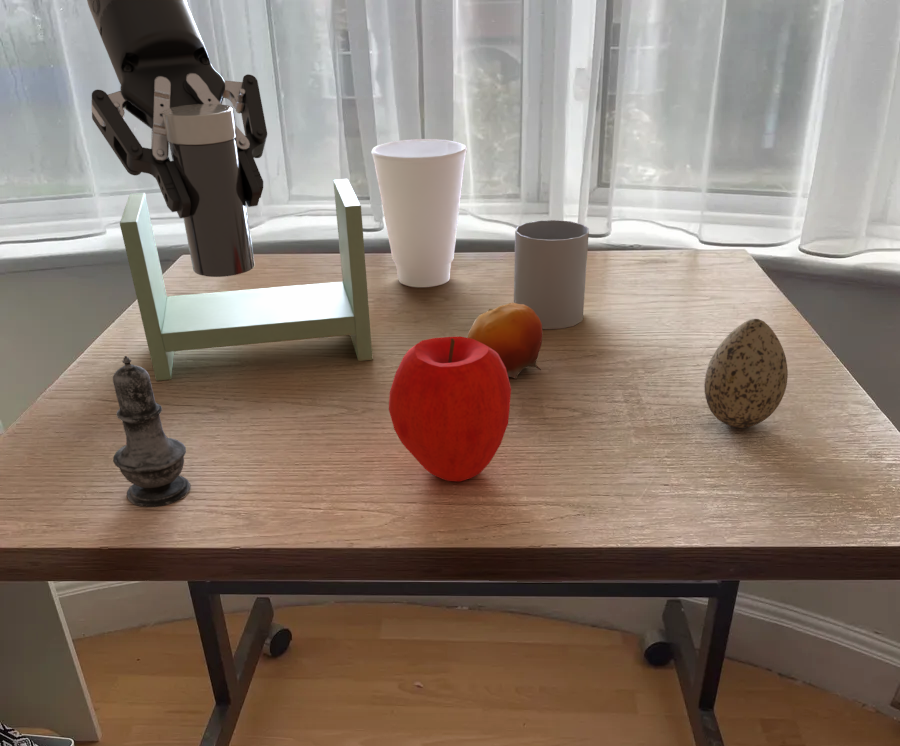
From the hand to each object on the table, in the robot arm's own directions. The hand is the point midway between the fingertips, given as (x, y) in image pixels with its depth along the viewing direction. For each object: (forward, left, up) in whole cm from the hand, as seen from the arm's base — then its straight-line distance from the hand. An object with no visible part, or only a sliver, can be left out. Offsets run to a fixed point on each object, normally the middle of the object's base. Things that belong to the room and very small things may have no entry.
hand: (220, 205), depth 72 cm
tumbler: (-1, +2, -5) cm, 6 cm away
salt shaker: (-9, -8, -21) cm, 24 cm away
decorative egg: (+44, -8, -21) cm, 50 cm away
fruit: (+26, +10, -21) cm, 35 cm away
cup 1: (+23, +42, -21) cm, 52 cm away
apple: (+16, -11, -21) cm, 29 cm away
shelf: (+1, +22, -20) cm, 30 cm away
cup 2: (+35, +24, -21) cm, 47 cm away
